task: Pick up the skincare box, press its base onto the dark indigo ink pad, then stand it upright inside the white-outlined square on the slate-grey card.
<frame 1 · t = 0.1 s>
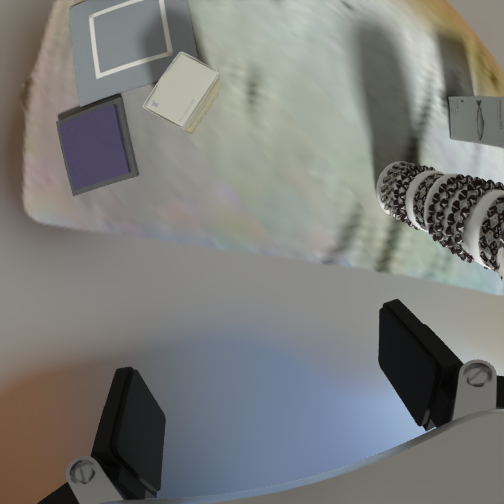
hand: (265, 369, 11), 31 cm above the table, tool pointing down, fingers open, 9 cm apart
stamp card: (129, 34, 30), on the table
supplement box: (462, 119, 39), on the table
skincare box: (190, 104, 35), on the table
decorative candle: (399, 188, 42), on the table
ink pad: (97, 147, 35), on the table
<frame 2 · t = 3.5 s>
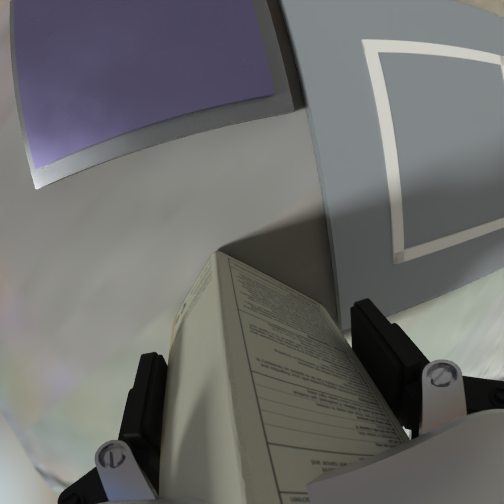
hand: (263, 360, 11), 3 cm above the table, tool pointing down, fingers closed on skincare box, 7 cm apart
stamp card: (457, 143, 13), on the table
skincare box: (252, 311, 15), on the table, touching gripper
ink pad: (133, 39, 10), on the table
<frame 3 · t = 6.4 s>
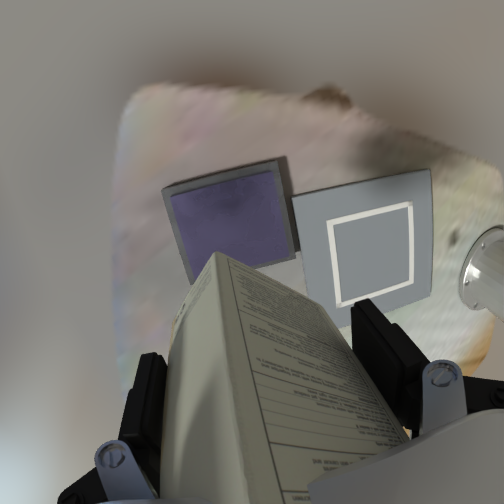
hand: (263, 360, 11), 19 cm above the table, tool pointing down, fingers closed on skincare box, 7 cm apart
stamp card: (373, 253, 32), on the table
skincare box: (251, 311, 15), point 16 cm above the table, touching gripper
ink pad: (230, 222, 29), on the table
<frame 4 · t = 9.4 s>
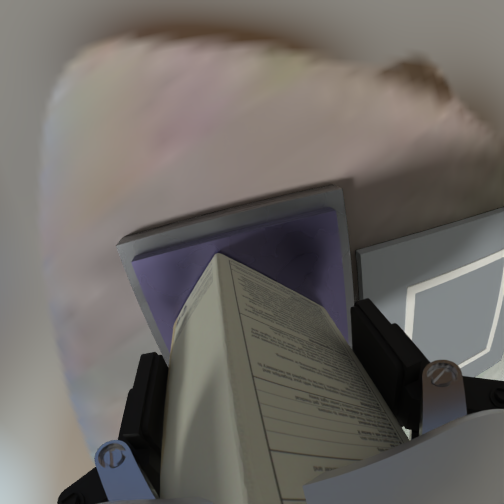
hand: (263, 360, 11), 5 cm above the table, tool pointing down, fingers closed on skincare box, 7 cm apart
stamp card: (454, 322, 19), on the table
skincare box: (253, 313, 15), point 2 cm above the table, touching gripper, ink pad
ink pad: (249, 296, 16), on the table
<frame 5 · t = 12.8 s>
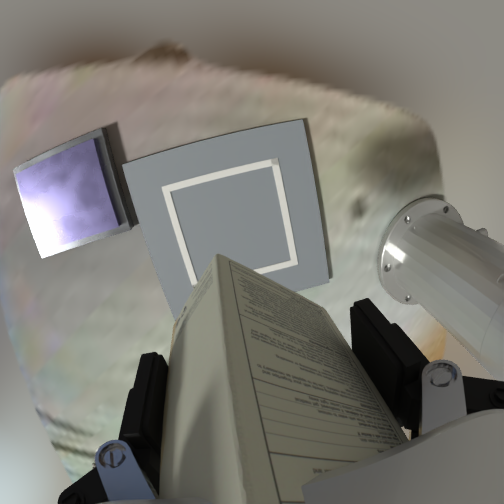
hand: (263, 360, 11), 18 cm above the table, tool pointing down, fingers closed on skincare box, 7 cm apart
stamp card: (232, 225, 28), on the table
skincare box: (253, 314, 15), point 15 cm above the table, touching gripper
ink pad: (71, 194, 25), on the table
when the fingers open (5 cm above the table, at t = 15.7 s): skincare box stays where it is, resting on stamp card.
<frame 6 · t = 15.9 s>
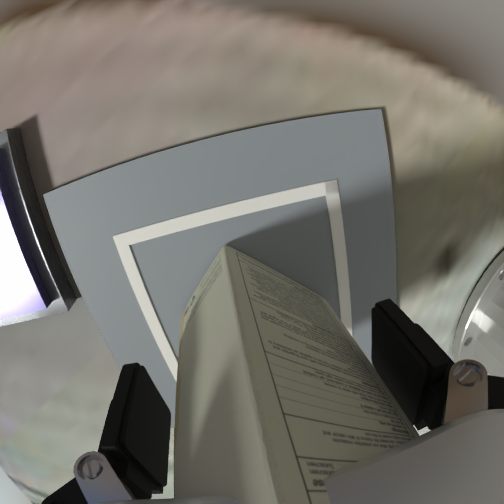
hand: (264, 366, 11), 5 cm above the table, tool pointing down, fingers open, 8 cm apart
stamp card: (248, 300, 16), on the table
skincare box: (258, 304, 15), resting on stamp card
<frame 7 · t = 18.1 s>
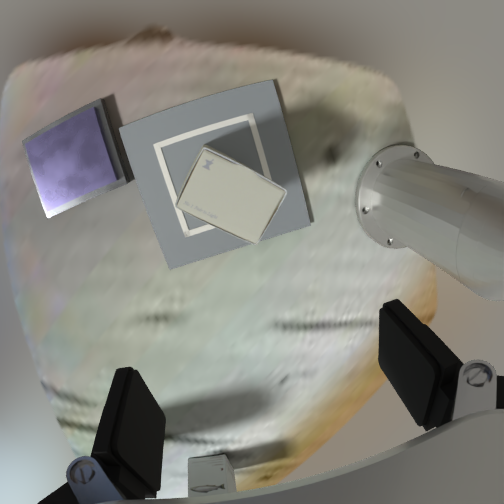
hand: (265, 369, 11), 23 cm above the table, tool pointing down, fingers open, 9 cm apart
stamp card: (217, 174, 31), on the table
supplement box: (211, 463, 49), on the table
skincare box: (221, 175, 31), resting on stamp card
ink pad: (74, 159, 28), on the table
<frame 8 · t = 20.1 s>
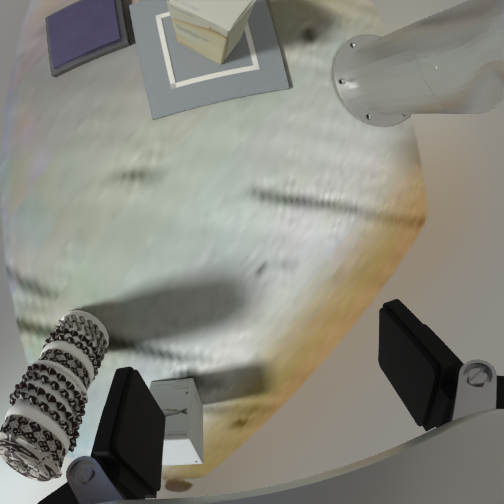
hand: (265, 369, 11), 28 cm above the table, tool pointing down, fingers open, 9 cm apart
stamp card: (206, 40, 30), on the table
supplement box: (177, 392, 47), on the table
skincare box: (210, 40, 29), resting on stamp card
decorative candle: (84, 333, 41), on the table
ink pad: (86, 30, 27), on the table
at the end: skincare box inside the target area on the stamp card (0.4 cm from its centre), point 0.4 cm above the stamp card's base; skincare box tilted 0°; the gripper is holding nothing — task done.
